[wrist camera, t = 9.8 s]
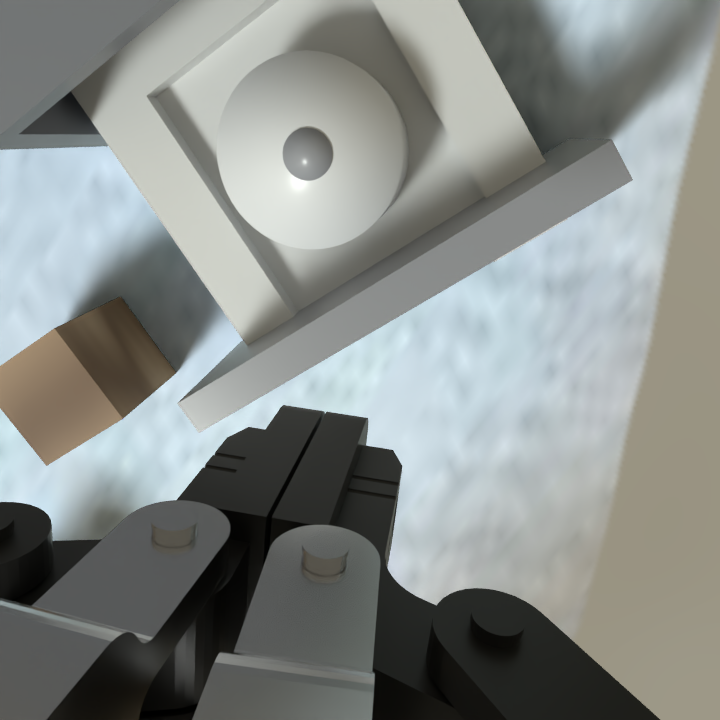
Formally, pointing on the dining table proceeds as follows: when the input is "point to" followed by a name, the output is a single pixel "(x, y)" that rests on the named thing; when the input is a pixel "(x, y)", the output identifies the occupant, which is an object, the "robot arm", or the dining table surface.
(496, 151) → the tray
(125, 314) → the brown rectangular block
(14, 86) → the housing
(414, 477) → the dining table surface
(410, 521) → the dining table surface
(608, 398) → the dining table surface
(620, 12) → the dining table surface
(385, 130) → the white domed lid
